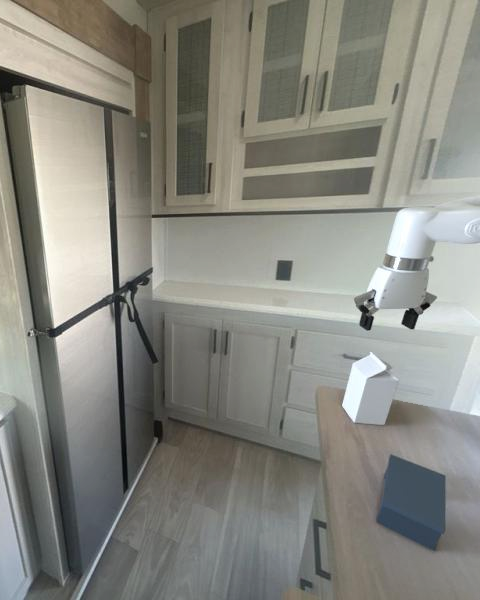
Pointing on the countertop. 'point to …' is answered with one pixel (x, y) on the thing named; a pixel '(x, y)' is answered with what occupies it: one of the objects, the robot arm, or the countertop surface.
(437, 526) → the navy blue slab
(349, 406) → the milk carton
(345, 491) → the countertop surface
